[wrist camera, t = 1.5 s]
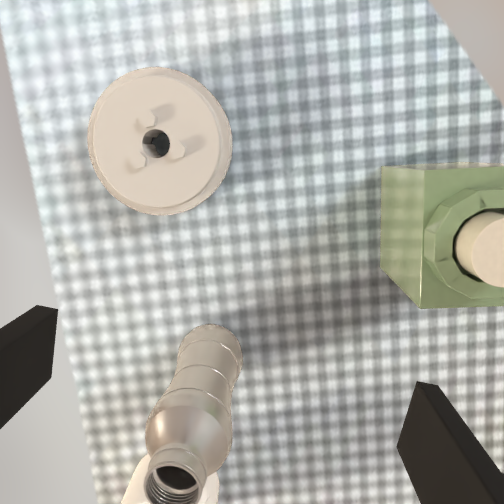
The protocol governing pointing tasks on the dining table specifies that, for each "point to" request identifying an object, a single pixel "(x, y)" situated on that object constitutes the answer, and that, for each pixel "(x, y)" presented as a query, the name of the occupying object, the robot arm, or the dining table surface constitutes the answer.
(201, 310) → the dining table surface
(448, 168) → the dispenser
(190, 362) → the plastic bottle
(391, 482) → the dining table surface
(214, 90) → the dining table surface
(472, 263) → the beige short cylinder
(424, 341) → the dining table surface
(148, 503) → the mug
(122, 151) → the lid
